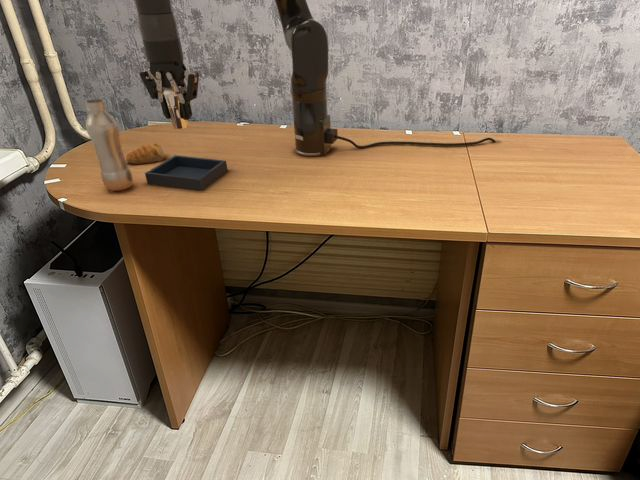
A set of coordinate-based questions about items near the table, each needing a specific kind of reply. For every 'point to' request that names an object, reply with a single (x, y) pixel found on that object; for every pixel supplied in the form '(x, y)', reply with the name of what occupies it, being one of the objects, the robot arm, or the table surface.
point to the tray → (187, 172)
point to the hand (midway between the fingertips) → (178, 118)
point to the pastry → (146, 154)
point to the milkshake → (175, 108)
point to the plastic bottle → (107, 146)
